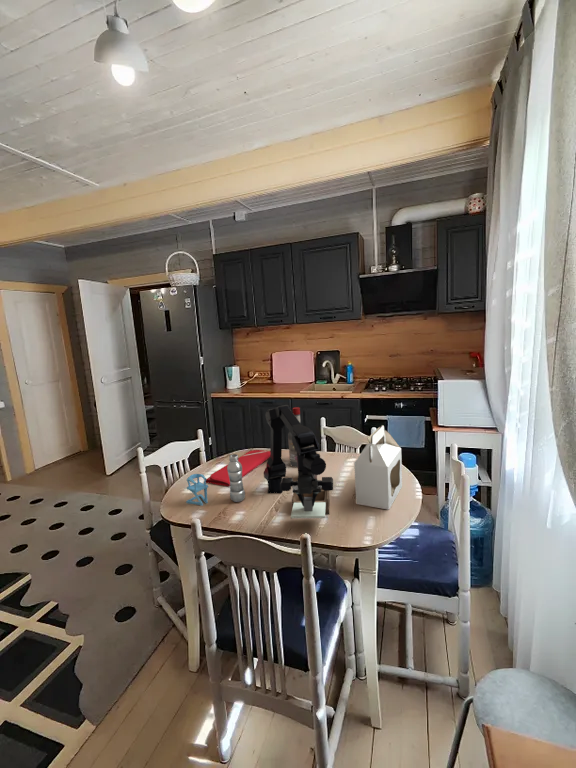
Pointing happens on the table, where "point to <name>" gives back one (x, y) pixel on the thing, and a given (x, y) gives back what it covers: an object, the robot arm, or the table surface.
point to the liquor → (291, 447)
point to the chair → (197, 489)
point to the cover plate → (309, 514)
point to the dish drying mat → (248, 464)
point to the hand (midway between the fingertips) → (308, 506)
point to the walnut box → (320, 497)
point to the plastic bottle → (235, 479)
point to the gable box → (378, 471)
